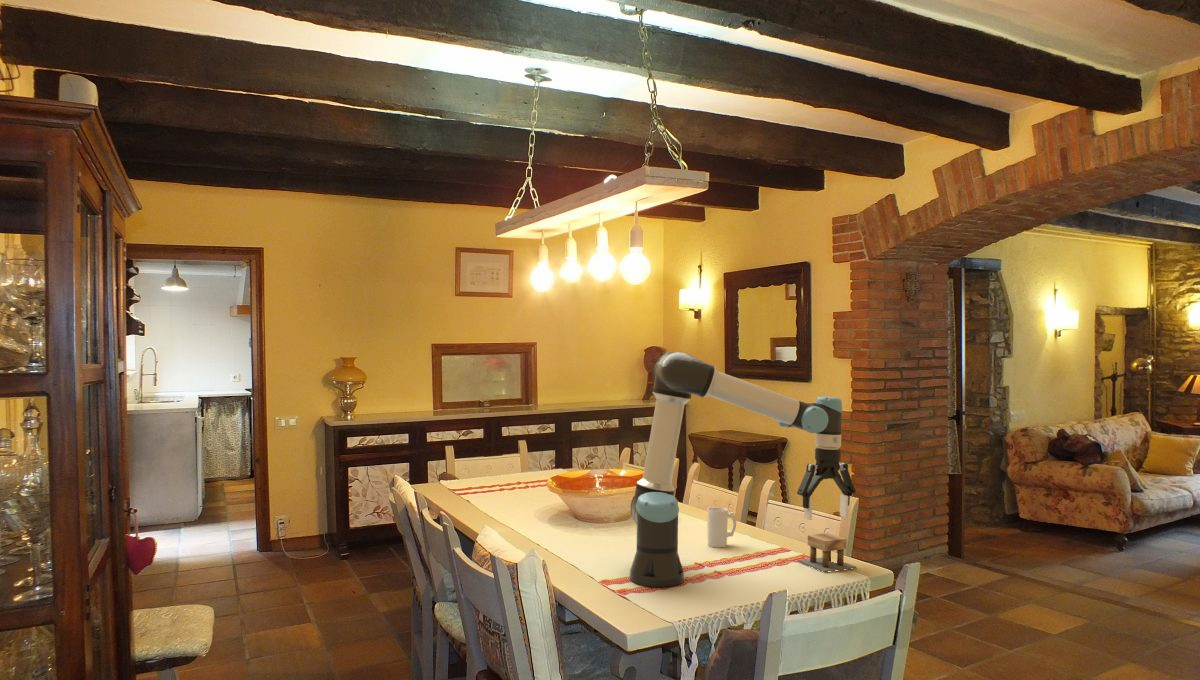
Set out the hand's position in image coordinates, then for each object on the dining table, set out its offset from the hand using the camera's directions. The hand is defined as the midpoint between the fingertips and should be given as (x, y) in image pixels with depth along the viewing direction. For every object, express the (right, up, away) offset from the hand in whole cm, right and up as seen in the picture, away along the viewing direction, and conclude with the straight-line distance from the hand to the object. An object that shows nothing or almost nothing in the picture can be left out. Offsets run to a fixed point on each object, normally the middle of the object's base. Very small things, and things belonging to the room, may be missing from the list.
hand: (825, 517), depth 231 cm
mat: (0, -14, 0) cm, 14 cm away
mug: (-28, -15, +22) cm, 39 cm away
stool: (0, -14, 0) cm, 14 cm away
